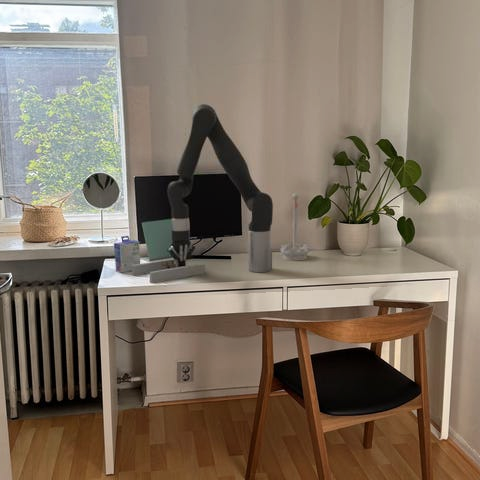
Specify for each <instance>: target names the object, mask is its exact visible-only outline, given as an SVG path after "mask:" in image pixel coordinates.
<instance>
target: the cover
mask: <svg viewBox="0 0 480 480" xmlns="http://www.w3.org/2000/svg"><path fill="white" fill-rule="evenodd" d="M171 223H172V218H168V219H160V220H151V221H143V222H141V226H142V231H143V236H144V240H145V246H146V249H147V250H146V251H147V255H148V262H155V261H162V260H168V259H174V258H173V257H172V256H171V255H170V254H169V252H168V251H167V249H170V248H171V247H172V242H173V241H172V228H171V227H172V225H171ZM174 253H175V254H176V251H175V250H174Z"/></svg>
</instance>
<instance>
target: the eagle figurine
mask: <svg viewBox="0 0 480 480" xmlns="http://www.w3.org/2000/svg"><path fill="white" fill-rule="evenodd" d="M162 265H164V266H165V267H167V268H168V269H171V268H177V263H176V262H175V261H174V260H172V265H171V263H170V265H169V266H168V263H166V265H165V264H163V263H162Z"/></svg>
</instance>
